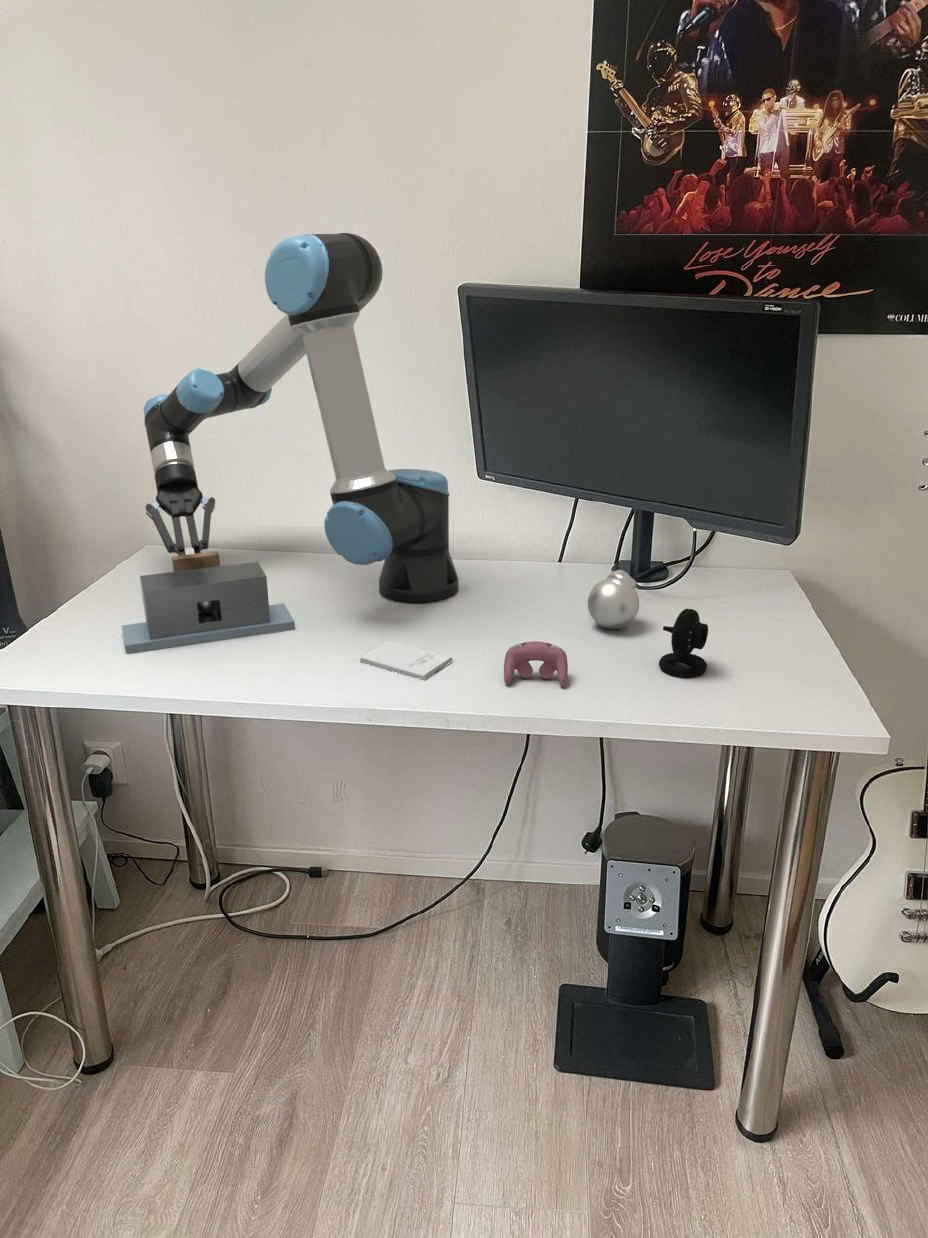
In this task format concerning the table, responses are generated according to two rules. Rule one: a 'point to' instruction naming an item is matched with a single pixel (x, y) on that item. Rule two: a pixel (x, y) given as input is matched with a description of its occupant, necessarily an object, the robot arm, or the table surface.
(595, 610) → the silver bulbous ornament
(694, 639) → the webcam
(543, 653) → the video game controller
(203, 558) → the brown wooden block
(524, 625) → the table surface
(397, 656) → the external hard drive
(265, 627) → the housing
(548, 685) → the table surface
